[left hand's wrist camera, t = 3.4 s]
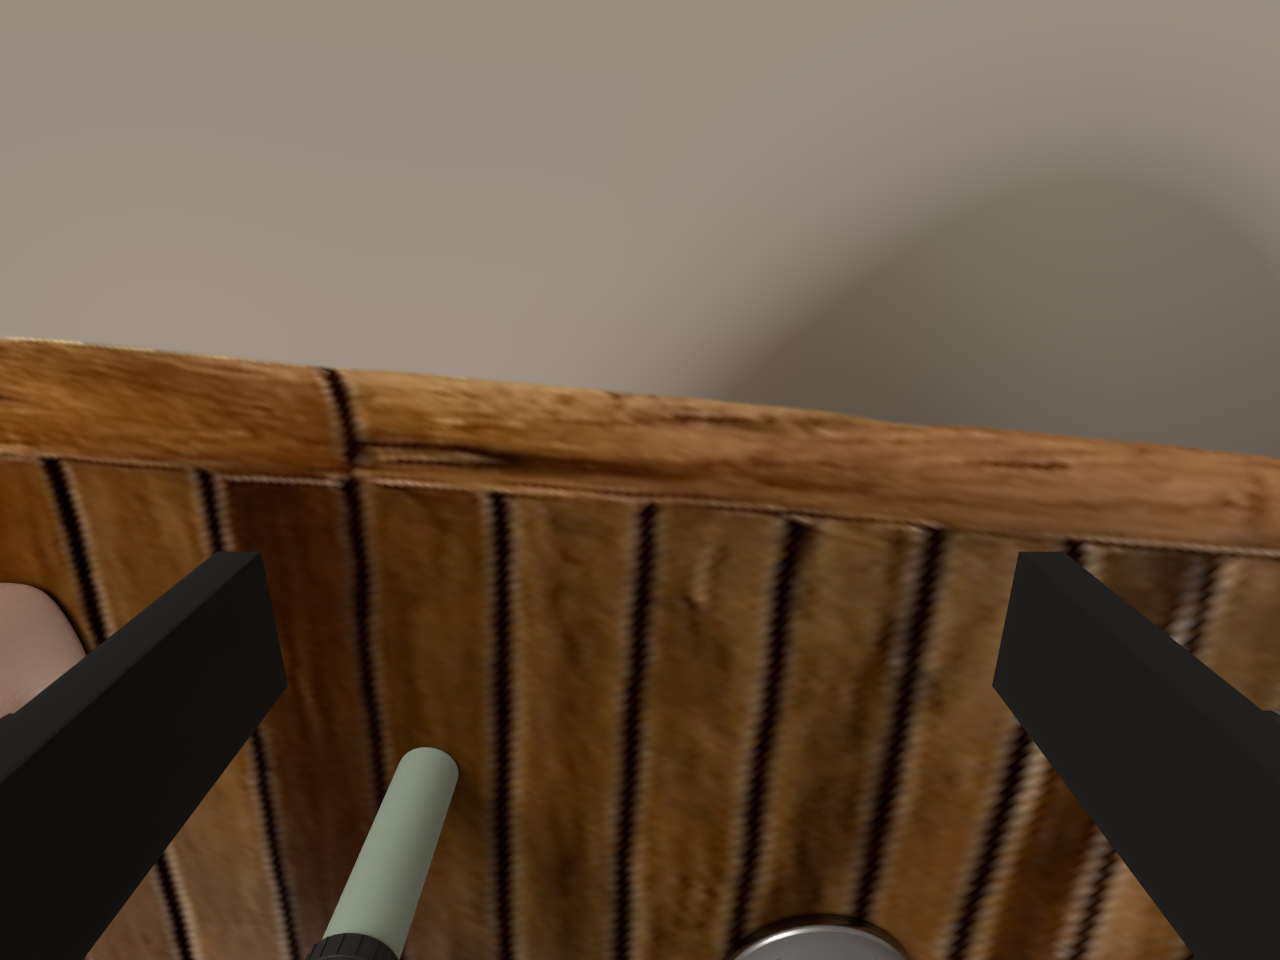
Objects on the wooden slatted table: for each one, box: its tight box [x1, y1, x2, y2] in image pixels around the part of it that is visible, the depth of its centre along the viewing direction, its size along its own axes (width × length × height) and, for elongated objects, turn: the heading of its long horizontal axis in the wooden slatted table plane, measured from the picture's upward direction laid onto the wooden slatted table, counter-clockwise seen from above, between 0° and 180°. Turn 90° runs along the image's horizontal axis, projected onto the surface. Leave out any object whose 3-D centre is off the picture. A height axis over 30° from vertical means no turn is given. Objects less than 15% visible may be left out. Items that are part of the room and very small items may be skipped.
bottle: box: [322, 747, 458, 960], centre depth 42 cm, size 4×4×15 cm
